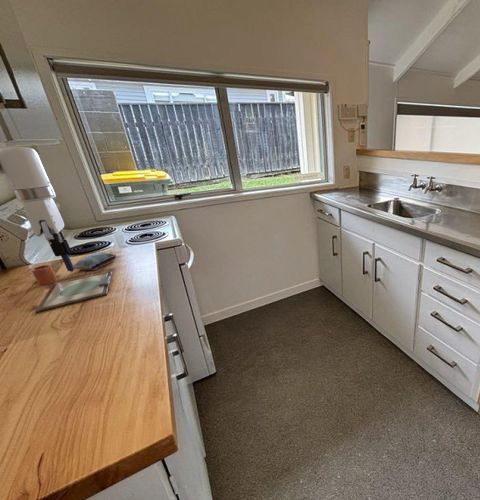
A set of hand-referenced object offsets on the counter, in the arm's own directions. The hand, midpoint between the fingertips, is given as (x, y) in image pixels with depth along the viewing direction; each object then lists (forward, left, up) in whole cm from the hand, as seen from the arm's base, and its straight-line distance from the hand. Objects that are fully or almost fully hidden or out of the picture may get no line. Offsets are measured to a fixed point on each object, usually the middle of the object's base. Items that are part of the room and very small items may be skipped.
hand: (63, 253), depth 86 cm
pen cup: (-11, +15, -13) cm, 23 cm away
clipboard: (-1, +1, -13) cm, 13 cm away
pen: (0, 0, -6) cm, 6 cm away
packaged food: (+1, +22, -13) cm, 26 cm away
